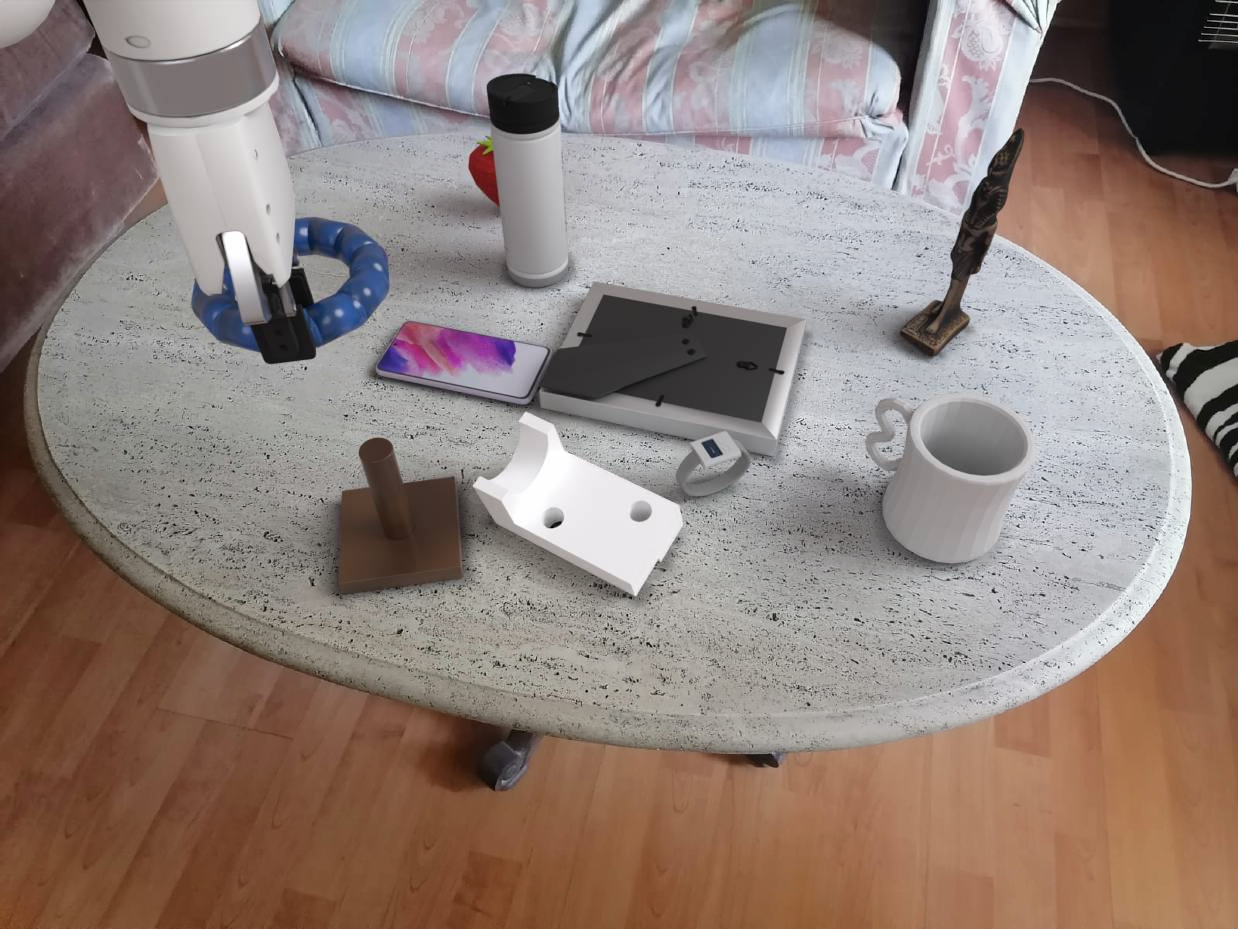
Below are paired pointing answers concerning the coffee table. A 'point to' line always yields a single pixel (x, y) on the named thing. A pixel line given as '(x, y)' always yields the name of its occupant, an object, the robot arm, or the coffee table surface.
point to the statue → (967, 253)
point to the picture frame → (676, 366)
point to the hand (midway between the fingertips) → (292, 338)
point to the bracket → (580, 509)
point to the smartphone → (465, 362)
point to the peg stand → (397, 527)
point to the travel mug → (529, 177)
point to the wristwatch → (713, 463)
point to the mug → (952, 473)
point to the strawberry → (484, 169)
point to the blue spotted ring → (325, 315)
